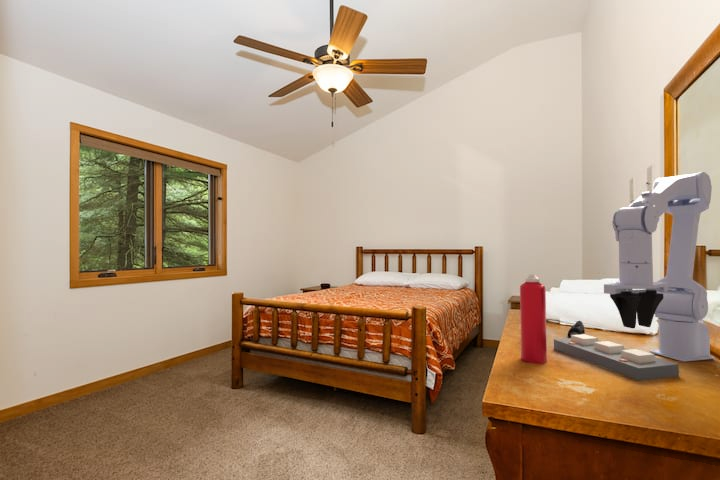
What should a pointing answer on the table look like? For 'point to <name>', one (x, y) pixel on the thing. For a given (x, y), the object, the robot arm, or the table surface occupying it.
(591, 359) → the key panel
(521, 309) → the bottle
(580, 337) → the key
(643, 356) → the key
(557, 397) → the table surface
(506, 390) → the table surface
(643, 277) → the robot arm
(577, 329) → the electric trimmer
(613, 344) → the key middle
